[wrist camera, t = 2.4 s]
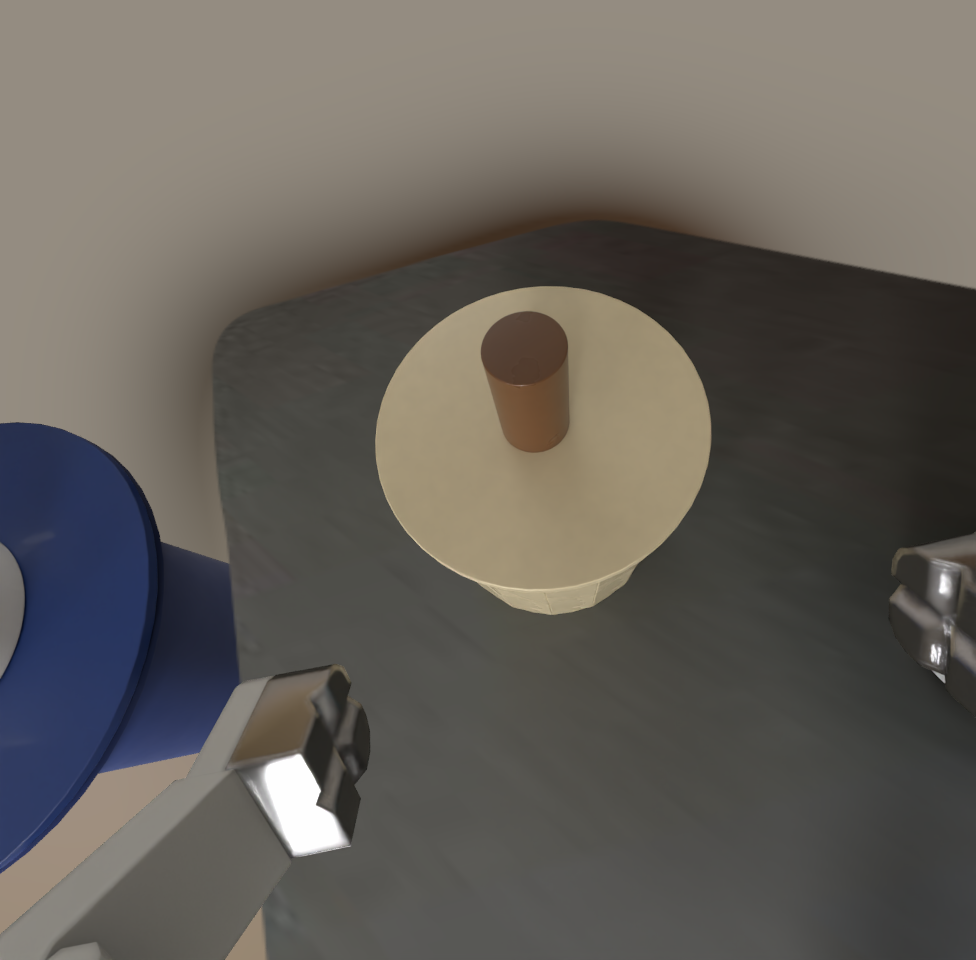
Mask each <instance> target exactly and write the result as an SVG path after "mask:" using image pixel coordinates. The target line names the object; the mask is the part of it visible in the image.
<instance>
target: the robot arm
mask: <svg viewBox="0 0 976 960" xmlns="http://www.w3.org/2000/svg"><path fill="white" fill-rule="evenodd" d="M891 574H892V575H893V576H894V577H895V578H896V579H897V580H898V581H899V582H900V583H901V585H900V586H899V588H898V589H897V590H896V591H895V592H894V594H893V595H892V596H891V597H890V599H889V617H888V619H889V621H890V624H891V627H892V630H893V632H894V635H895V638H896V639H897V640H898V642H899V643H900V645H901V646H902V648H903V649H904V651H905V652H906V653H907V654H908V655H909V656H910V657H911V658H912V659H913V660H914V661H915V662H916V663H917V664H918V665H920V666H922V667H925V668H927V669H930V670H932V671H935V672H937V673H940V674H942V675H944V676H945V685H946V691H947V692H948V693H949V694H950V695H951V696H952V697H953V698H955V699H956V700H957V701H958V702H959V703H960V704H961V705H962V706H963V707H964V708H965V709H966V710H967V711H968V712H970V713H971V714H972V715H973V716H974V717H975V718H976V532H975V533H972V534H966V535H961V536H957V537H952V538H947V539H943V540H938V541H933V542H928V543H924V544H919V545H914V546H909V547H905V548H900V549H898V551H897V553H896V554H895V556H894V557H893V561H892V570H891ZM24 607H25V591H24V583H23V577H22V574H21V570H20V568H19V565H18V563H17V561H16V559H15V558H14V556H13V554H12V553H11V552H10V551H9V549H8V548H7V547H6V546H5V545H3V544H2V543H1V542H0V679H1V677H2V675H3V673H4V671H5V670H6V668H7V666H8V664H9V662H10V659H11V657H12V655H13V652H14V650H15V647H16V644H17V641H18V638H19V635H20V631H21V627H22V622H23V616H24ZM350 686H351V681H350V679H349V677H348V675H347V673H346V671H345V669H344V667H343V666H340V665H337V664H333V665H328V666H322V667H317V668H311V669H306V670H300V671H295V672H289V673H284V674H278V675H275V676H270V677H264V678H259V679H254V680H248V681H244V682H243V683H241V684H240V685H239V686H237V687H236V688H235V690H234V691H233V693H232V695H231V697H230V699H229V700H228V702H227V704H226V706H225V708H224V710H223V711H222V713H221V715H220V717H219V719H218V720H217V722H216V724H215V726H214V728H213V729H212V731H211V733H210V735H209V737H208V739H207V740H206V742H205V744H204V746H203V748H202V749H201V751H200V753H199V755H198V757H197V758H196V760H195V762H194V764H193V766H192V768H191V770H190V771H189V773H188V775H187V777H186V778H185V779H180V780H175V781H174V782H173V783H171V784H170V785H169V786H168V787H167V788H166V789H165V790H164V791H162V792H161V793H160V794H159V795H158V796H157V797H156V798H154V799H153V800H152V801H151V802H150V803H149V804H148V805H146V806H145V807H144V808H143V809H142V810H141V811H140V812H139V813H137V814H136V815H135V816H134V817H133V818H132V819H131V820H129V821H128V822H127V823H126V824H125V825H124V826H123V827H122V828H120V829H119V830H118V831H117V832H116V833H115V834H114V835H112V836H111V837H110V838H109V839H108V840H107V841H106V842H104V844H102V845H101V846H100V847H99V848H98V849H97V850H95V851H94V852H93V853H92V854H91V855H90V856H89V857H88V858H86V859H85V860H84V861H83V862H82V863H81V864H80V865H79V866H77V867H76V868H75V869H74V870H73V871H72V872H70V873H69V874H68V875H67V876H66V877H65V878H64V879H62V880H61V881H60V882H59V883H58V884H57V885H56V886H55V887H54V888H52V889H51V890H50V891H49V892H48V893H47V894H46V895H45V896H43V897H42V898H41V899H40V900H39V901H38V902H36V903H35V904H34V905H33V906H32V907H31V908H30V909H29V910H27V911H26V912H25V913H24V914H23V915H22V916H21V917H19V918H18V919H17V920H16V921H15V922H14V923H13V924H11V925H10V926H9V927H8V928H7V929H6V930H5V931H3V932H2V933H1V934H0V960H225V958H226V957H227V956H228V954H229V953H230V951H231V950H232V948H233V947H234V945H235V944H236V943H237V941H238V940H239V938H240V937H241V935H242V934H243V932H244V931H245V929H246V928H247V927H248V925H249V924H250V922H251V921H252V919H253V918H254V916H255V915H256V913H257V912H258V911H259V909H260V908H261V906H262V905H263V903H264V902H265V901H266V899H267V898H268V896H269V895H270V893H271V892H272V890H273V889H274V887H275V886H276V885H277V883H278V882H279V880H280V879H281V877H282V876H283V874H284V873H285V872H286V870H287V869H288V867H289V866H290V864H291V863H292V860H291V858H295V857H300V856H305V855H310V854H314V853H319V852H324V851H329V850H333V849H338V848H343V847H348V846H351V842H352V837H353V833H354V828H355V823H356V819H357V814H358V809H359V805H360V800H361V798H360V796H359V794H358V792H357V790H356V788H355V786H354V785H355V784H356V782H357V781H358V780H359V779H360V777H361V776H362V775H363V774H364V772H365V771H366V770H367V766H368V761H369V755H370V729H369V725H368V721H367V716H366V714H365V712H364V709H363V707H362V705H361V704H360V703H359V702H357V701H355V700H354V699H352V698H350V697H349V696H348V694H349V690H350Z"/></svg>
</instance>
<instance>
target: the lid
mask: <svg viewBox="0 0 976 960" xmlns="http://www.w3.org/2000/svg"><path fill="white" fill-rule="evenodd" d="M375 444H376V462H377V467H378V473H379V478H380V482H381V484H382V487H383V490H384V493H385V496H386V499H387V501H388V503H389V505H390V507H391V509H392V510H393V512H394V514H395V516H396V518H397V519H398V521H399V522H400V523H401V525H402V526H403V528H404V529H405V530H406V532H407V533H408V534H409V535H410V536H411V537H412V538H413V539H414V540H415V542H416V543H417V544H418V545H419V546H420V547H421V548H422V549H423V550H425V551H426V552H427V553H428V554H430V555H431V556H432V557H433V558H435V559H436V560H437V561H438V562H440V563H441V564H442V565H444V566H446V567H447V568H449V569H451V570H453V571H454V572H456V573H458V574H459V575H461V576H464V577H466V578H468V579H471V580H473V581H476V582H478V583H481V584H484V585H487V586H491V587H495V588H499V589H503V590H509V591H517V592H525V593H552V592H559V591H566V590H573V589H578V588H582V587H585V586H589V585H592V584H596V583H599V582H601V581H604V580H606V579H608V578H611V577H613V576H615V575H618V574H620V573H622V572H624V571H625V570H627V569H629V568H630V567H632V566H634V565H635V564H637V563H639V562H640V561H642V560H643V559H644V558H645V557H647V556H648V555H649V554H650V553H652V552H653V551H654V550H655V549H657V548H658V547H659V546H660V545H661V544H662V543H663V542H664V541H665V540H666V539H667V538H668V537H669V535H670V534H671V533H672V532H673V531H674V530H675V529H676V528H677V526H678V525H679V523H680V522H681V520H682V519H683V517H684V516H685V515H686V513H687V512H688V510H689V509H690V507H691V506H692V504H693V502H694V500H695V498H696V496H697V494H698V492H699V490H700V487H701V485H702V482H703V479H704V476H705V473H706V469H707V466H708V461H709V455H710V448H711V418H710V411H709V405H708V400H707V397H706V394H705V391H704V387H703V384H702V382H701V380H700V377H699V375H698V373H697V371H696V369H695V367H694V365H693V363H692V362H691V360H690V359H689V357H688V356H687V354H686V353H685V351H684V350H683V348H682V347H681V346H680V345H679V344H678V343H677V341H676V340H675V339H674V338H673V337H672V336H671V335H670V334H669V333H668V332H667V331H666V330H665V329H664V328H663V327H662V326H660V325H659V324H658V323H657V322H656V321H655V320H653V319H652V318H650V317H649V316H647V315H646V314H644V313H643V312H641V311H640V310H638V309H636V308H634V307H632V306H630V305H628V304H626V303H624V302H622V301H620V300H618V299H615V298H612V297H609V296H607V295H604V294H601V293H597V292H593V291H588V290H584V289H578V288H570V287H556V286H541V287H530V288H521V289H516V290H511V291H506V292H502V293H499V294H496V295H492V296H489V297H486V298H483V299H481V300H479V301H476V302H474V303H472V304H470V305H467V306H465V307H464V308H462V309H460V310H458V311H457V312H455V313H453V314H451V315H450V316H448V317H447V318H445V319H444V320H443V321H441V322H440V323H438V324H437V325H436V326H434V327H433V328H432V329H431V330H430V331H429V332H428V333H427V334H425V335H424V336H423V337H422V338H421V339H420V340H419V341H418V342H417V343H416V345H415V346H414V347H413V348H412V349H411V350H410V351H409V353H408V354H407V355H406V357H405V358H404V359H403V361H402V362H401V364H400V365H399V367H398V368H397V370H396V372H395V374H394V375H393V377H392V379H391V381H390V383H389V385H388V387H387V390H386V393H385V395H384V398H383V401H382V403H381V408H380V412H379V416H378V421H377V429H376V440H375Z"/></svg>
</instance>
